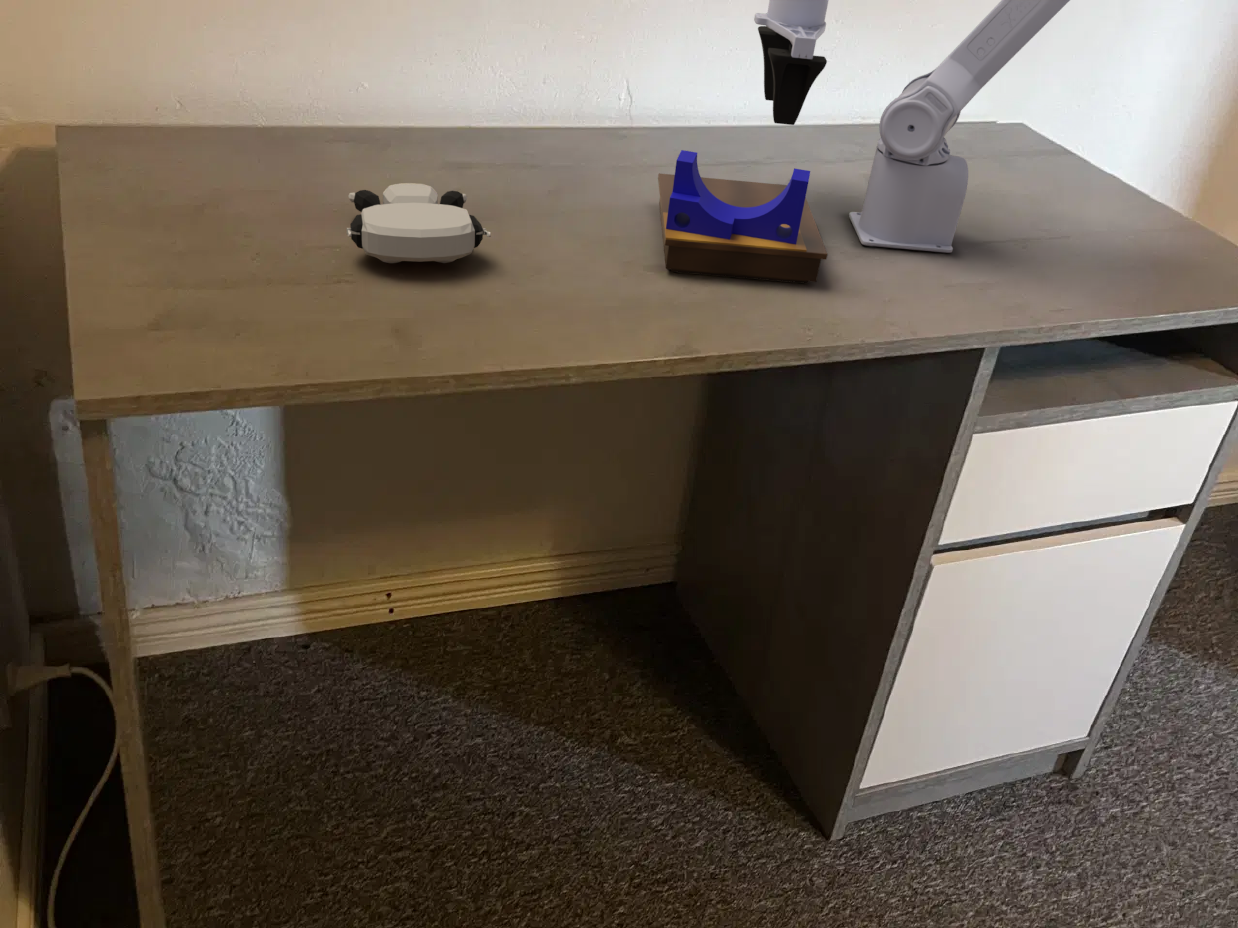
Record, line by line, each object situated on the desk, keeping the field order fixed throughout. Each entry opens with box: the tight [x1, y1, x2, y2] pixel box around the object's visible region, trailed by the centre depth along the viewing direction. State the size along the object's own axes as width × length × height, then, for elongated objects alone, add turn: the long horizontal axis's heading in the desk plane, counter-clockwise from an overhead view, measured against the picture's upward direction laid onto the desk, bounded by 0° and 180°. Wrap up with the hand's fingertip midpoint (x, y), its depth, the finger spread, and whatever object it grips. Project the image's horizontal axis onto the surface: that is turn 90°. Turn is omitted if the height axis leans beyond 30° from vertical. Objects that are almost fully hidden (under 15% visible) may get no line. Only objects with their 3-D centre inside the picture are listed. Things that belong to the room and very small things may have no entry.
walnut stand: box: [657, 173, 829, 285], centre depth 112 cm, size 15×17×4 cm
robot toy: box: [346, 182, 492, 264], centre depth 105 cm, size 12×4×15 cm
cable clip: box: [666, 149, 811, 244], centre depth 105 cm, size 12×4×6 cm, turn 79°
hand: (779, 111), depth 118 cm, fingers open, 7 cm apart
